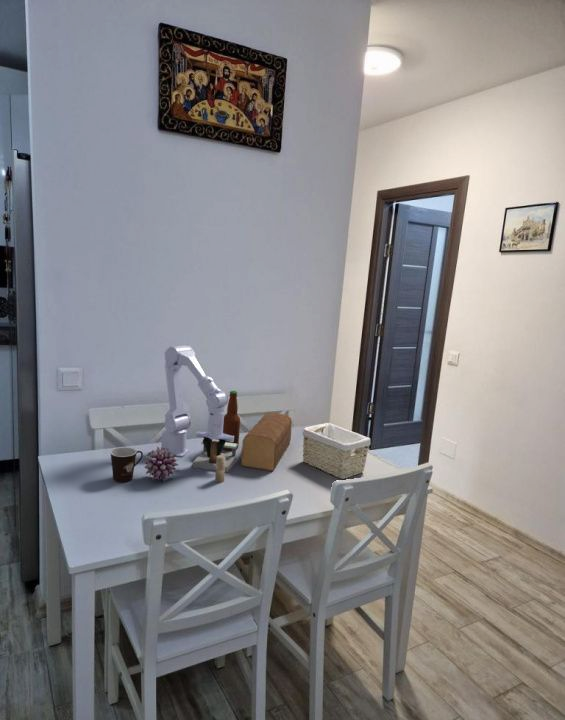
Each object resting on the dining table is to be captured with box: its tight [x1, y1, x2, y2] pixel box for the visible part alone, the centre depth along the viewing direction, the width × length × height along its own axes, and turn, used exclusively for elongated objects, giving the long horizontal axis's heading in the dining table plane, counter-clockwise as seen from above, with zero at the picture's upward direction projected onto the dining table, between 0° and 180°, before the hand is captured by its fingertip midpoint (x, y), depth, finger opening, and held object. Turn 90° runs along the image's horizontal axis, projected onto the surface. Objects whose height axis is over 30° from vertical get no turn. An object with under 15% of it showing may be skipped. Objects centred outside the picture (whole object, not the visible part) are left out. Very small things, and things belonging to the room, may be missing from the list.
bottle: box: [222, 390, 241, 451], centre depth 205 cm, size 7×7×25 cm
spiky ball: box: [143, 446, 179, 481], centre depth 170 cm, size 12×12×12 cm
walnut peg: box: [209, 440, 219, 464], centre depth 186 cm, size 3×3×9 cm
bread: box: [240, 412, 293, 472], centre depth 202 cm, size 14×34×14 cm, turn 168°
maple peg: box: [214, 455, 226, 483], centre depth 173 cm, size 3×3×9 cm
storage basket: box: [302, 422, 371, 480], centre depth 195 cm, size 24×16×15 cm
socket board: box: [192, 439, 239, 473], centre depth 189 cm, size 14×13×7 cm
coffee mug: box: [110, 447, 144, 484], centre depth 169 cm, size 12×9×10 cm
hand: (213, 457), depth 186 cm, fingers closed on walnut peg, 3 cm apart
